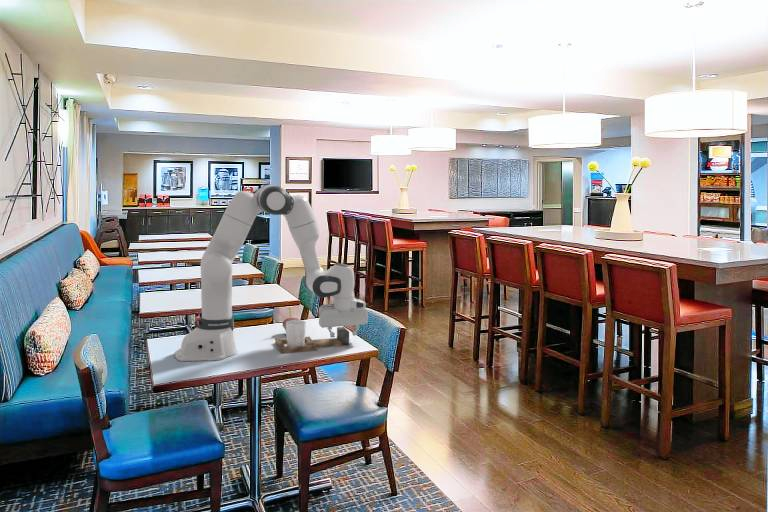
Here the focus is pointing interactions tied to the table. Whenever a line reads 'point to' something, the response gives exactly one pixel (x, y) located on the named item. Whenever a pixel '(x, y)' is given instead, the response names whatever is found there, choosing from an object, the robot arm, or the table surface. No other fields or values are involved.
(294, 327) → the white cup
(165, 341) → the table surface
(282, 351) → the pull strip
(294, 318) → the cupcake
